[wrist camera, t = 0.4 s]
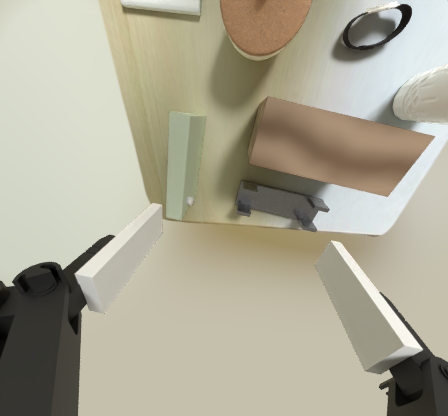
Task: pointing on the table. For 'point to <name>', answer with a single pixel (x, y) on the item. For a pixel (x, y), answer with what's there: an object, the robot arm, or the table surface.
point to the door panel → (183, 161)
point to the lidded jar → (262, 24)
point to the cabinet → (333, 146)
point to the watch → (404, 9)
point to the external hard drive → (166, 6)
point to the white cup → (424, 97)
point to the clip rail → (279, 203)
